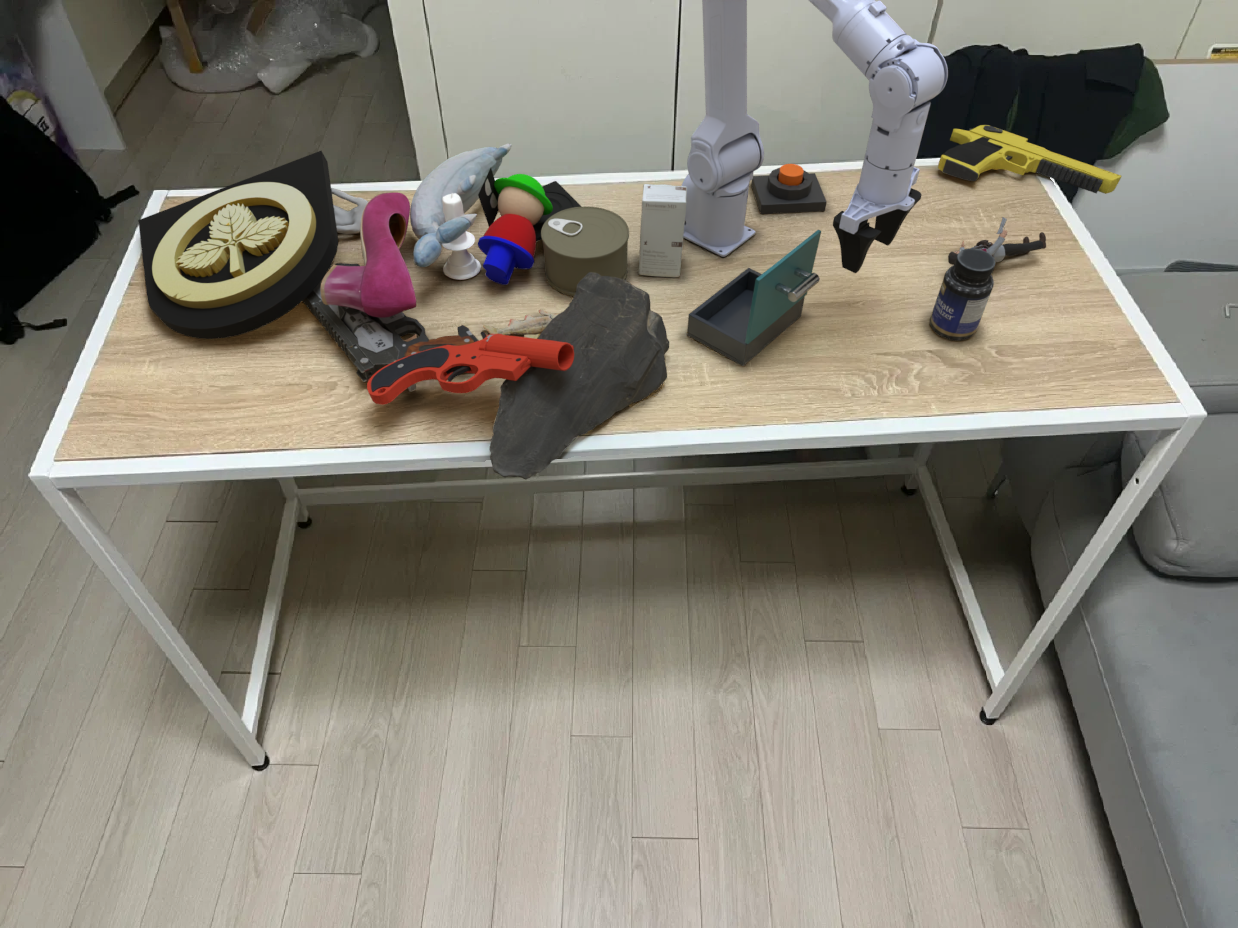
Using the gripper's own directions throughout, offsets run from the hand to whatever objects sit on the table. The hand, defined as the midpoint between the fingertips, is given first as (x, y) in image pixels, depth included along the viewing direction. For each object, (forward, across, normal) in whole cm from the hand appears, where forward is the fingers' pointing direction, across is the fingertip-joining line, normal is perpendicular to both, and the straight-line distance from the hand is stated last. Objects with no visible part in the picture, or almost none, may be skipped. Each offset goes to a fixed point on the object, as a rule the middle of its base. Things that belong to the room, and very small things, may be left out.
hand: (866, 255), depth 117 cm
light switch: (+9, -18, +46) cm, 50 cm away
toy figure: (+8, -28, +41) cm, 50 cm away
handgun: (+9, +40, -2) cm, 41 cm away
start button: (+7, +18, +23) cm, 30 cm away
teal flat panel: (+2, -11, +5) cm, 12 cm away
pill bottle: (+11, +8, -11) cm, 17 cm away
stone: (+6, -22, +19) cm, 30 cm away
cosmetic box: (+11, -8, +26) cm, 30 cm away
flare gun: (+3, -54, +24) cm, 59 cm away
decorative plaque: (+7, -56, +55) cm, 79 cm away
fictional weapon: (+9, -35, +44) cm, 57 cm away
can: (+11, -16, +34) cm, 39 cm away
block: (+10, +18, +23) cm, 31 cm away
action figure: (+8, +30, -12) cm, 33 cm away
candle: (+10, -27, +47) cm, 56 cm away
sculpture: (-1, -31, +41) cm, 51 cm away
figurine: (+8, -40, +78) cm, 88 cm away
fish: (+10, -29, +33) cm, 45 cm away
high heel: (+3, -39, +55) cm, 67 cm away
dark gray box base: (+10, -11, +10) cm, 18 cm away
